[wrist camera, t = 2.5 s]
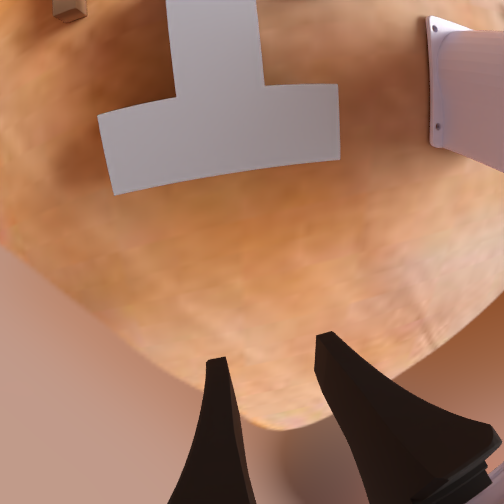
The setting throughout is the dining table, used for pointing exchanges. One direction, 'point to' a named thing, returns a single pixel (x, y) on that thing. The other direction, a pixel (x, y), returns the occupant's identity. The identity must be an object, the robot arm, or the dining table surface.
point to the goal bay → (69, 9)
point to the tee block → (218, 107)
